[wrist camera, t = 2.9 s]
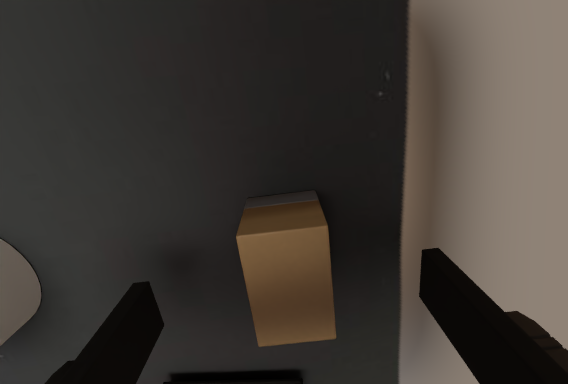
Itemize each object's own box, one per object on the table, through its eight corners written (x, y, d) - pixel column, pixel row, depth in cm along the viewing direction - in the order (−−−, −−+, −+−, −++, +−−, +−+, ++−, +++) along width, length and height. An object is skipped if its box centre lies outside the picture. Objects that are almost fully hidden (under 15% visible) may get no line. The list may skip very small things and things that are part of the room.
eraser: (246, 197, 16) (235, 236, 12) (315, 189, 16) (328, 225, 12) (263, 288, 18) (258, 347, 14) (323, 281, 18) (336, 339, 14)
